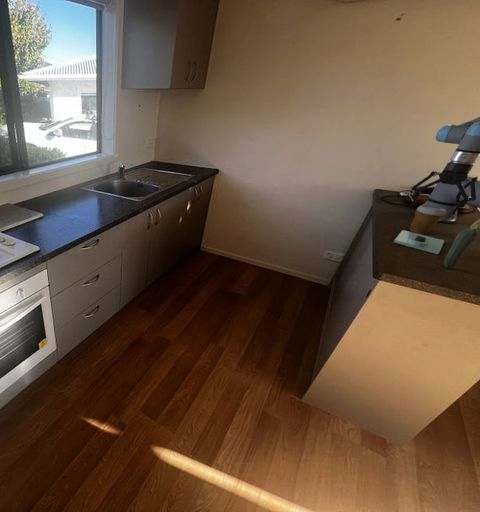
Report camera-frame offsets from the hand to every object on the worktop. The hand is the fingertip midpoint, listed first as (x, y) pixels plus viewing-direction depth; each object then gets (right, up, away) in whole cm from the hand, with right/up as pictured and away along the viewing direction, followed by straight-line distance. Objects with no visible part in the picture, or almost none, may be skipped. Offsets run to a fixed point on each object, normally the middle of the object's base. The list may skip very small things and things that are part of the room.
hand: (431, 209), depth 134 cm
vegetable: (-23, -26, -24) cm, 42 cm away
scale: (-12, -16, -5) cm, 20 cm away
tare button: (-17, -15, -10) cm, 25 cm away
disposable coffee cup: (0, -10, +6) cm, 12 cm away
